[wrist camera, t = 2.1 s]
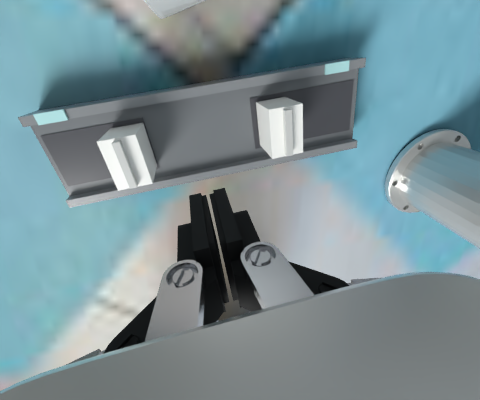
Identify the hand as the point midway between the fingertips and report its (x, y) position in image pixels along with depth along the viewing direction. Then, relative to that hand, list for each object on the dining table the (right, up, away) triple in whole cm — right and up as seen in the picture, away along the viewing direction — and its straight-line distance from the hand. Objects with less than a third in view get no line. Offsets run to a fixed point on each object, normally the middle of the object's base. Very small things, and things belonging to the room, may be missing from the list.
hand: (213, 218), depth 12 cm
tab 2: (+5, +9, +14) cm, 17 cm away
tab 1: (-9, +6, +13) cm, 17 cm away
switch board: (-2, +9, +16) cm, 18 cm away
